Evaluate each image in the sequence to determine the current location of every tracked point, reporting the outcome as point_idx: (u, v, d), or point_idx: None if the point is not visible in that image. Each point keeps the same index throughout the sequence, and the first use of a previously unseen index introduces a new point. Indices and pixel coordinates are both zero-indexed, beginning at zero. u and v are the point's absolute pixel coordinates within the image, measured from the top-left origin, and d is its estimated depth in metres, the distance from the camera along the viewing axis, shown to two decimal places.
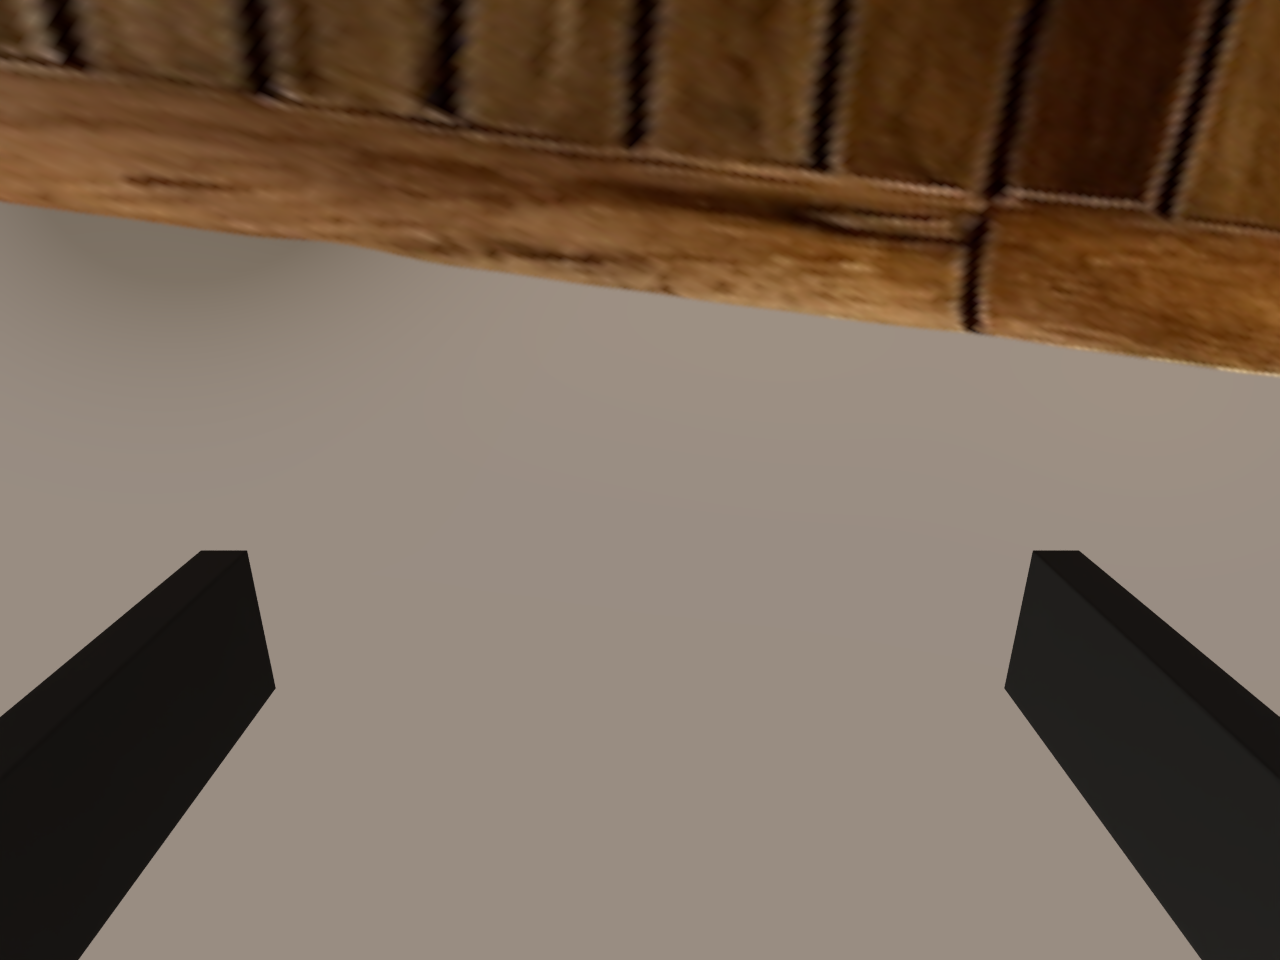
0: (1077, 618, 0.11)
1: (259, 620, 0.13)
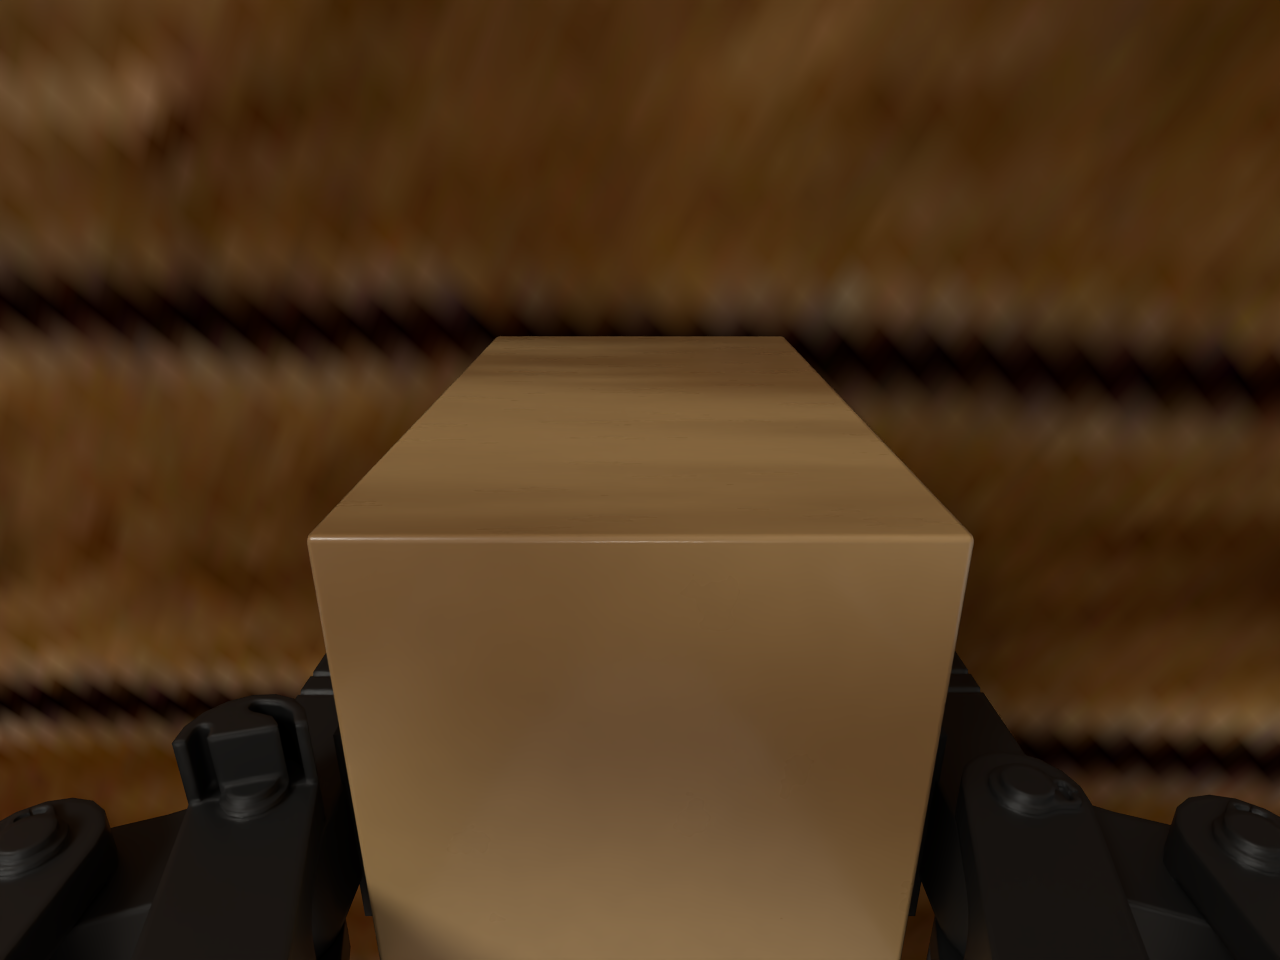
0: None
1: None
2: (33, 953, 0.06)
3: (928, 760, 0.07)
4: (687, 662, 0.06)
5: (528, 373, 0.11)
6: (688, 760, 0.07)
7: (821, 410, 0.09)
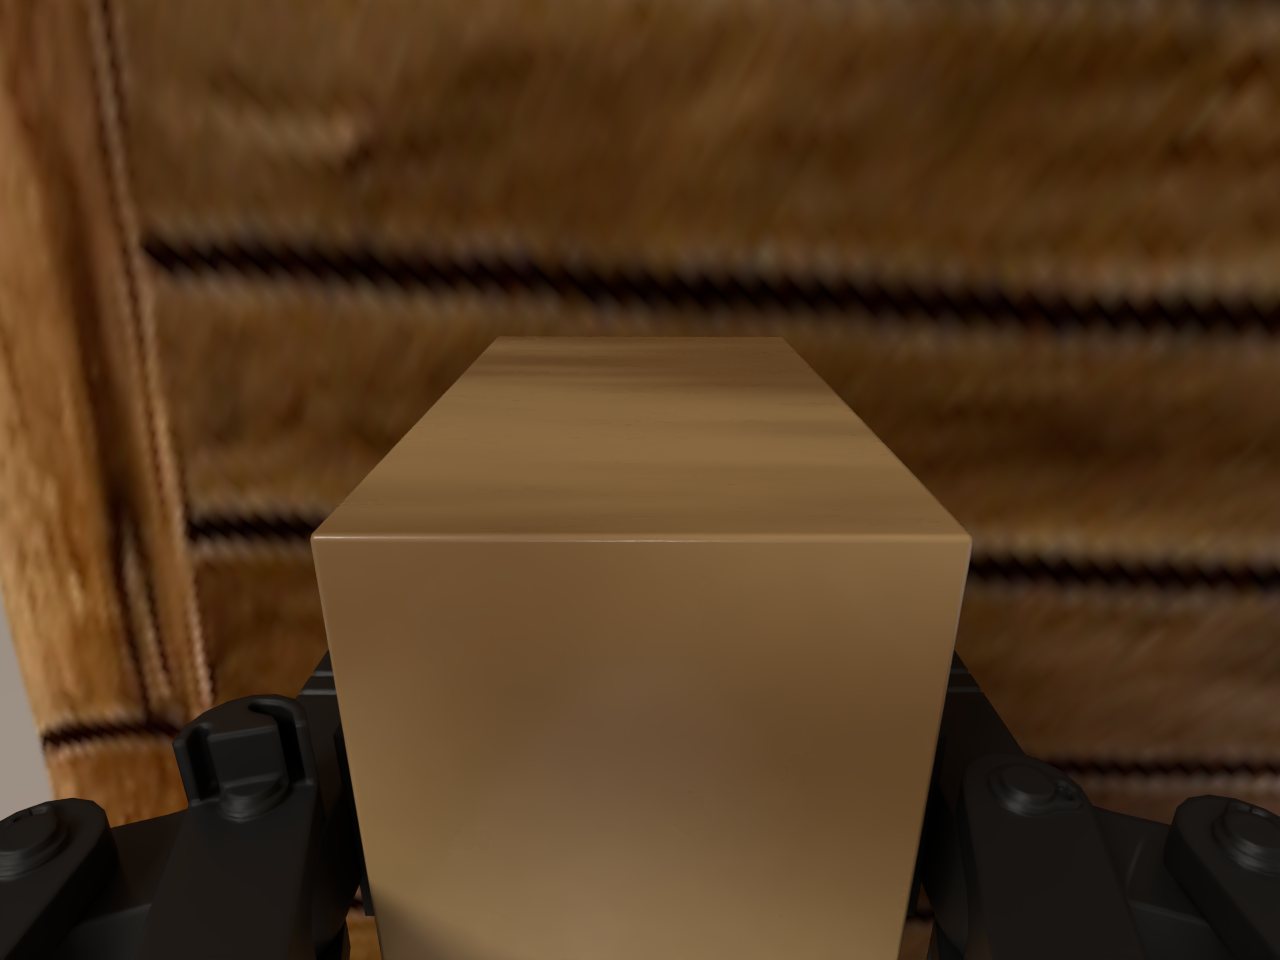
0: None
1: None
2: (33, 953, 0.06)
3: (928, 759, 0.07)
4: (689, 661, 0.06)
5: (529, 373, 0.11)
6: (689, 758, 0.07)
7: (821, 411, 0.09)
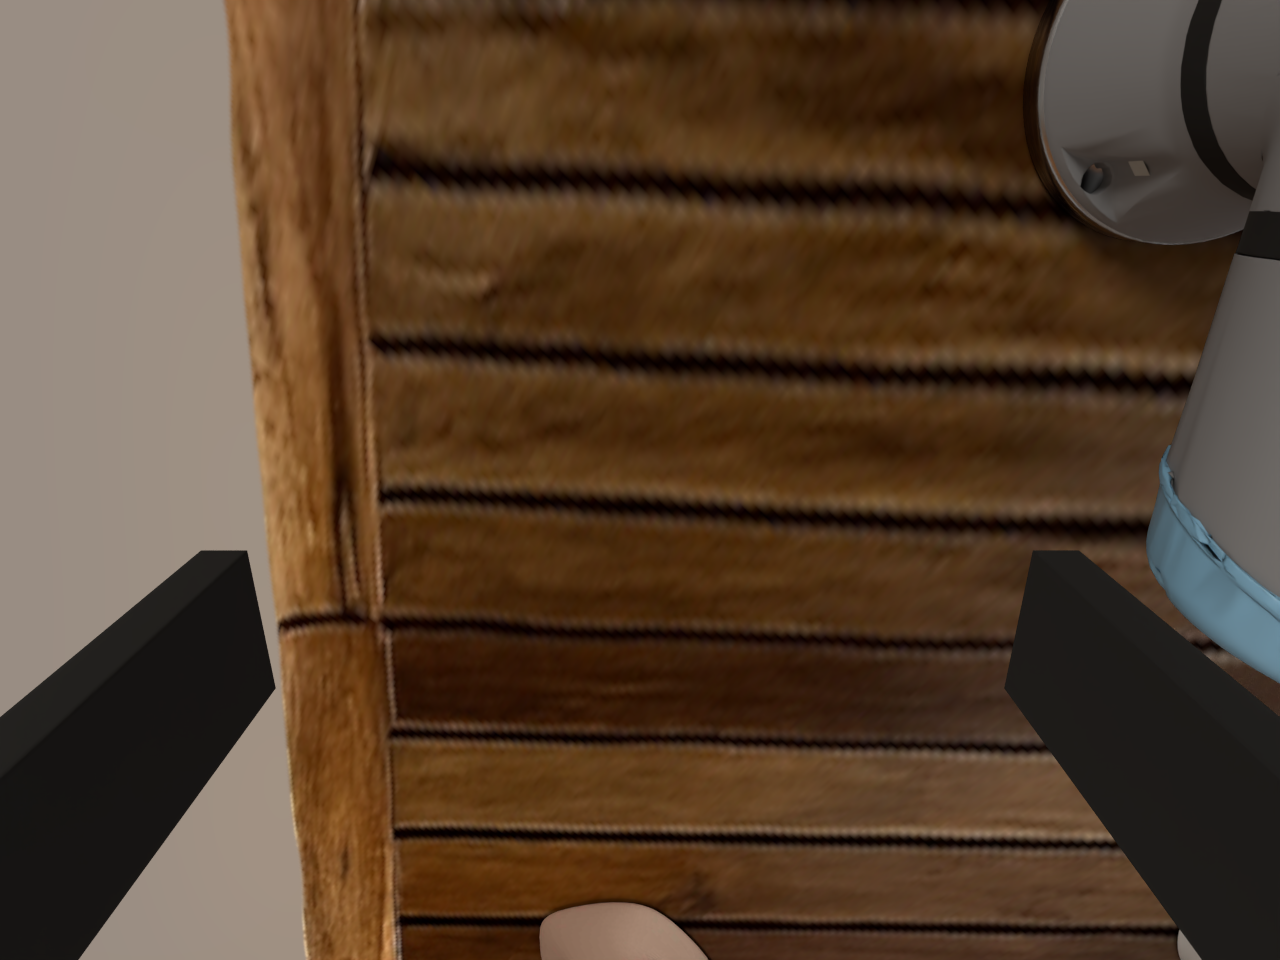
0: (1076, 618, 0.11)
1: (258, 620, 0.13)
2: None
3: None
4: None
5: None
6: None
7: None
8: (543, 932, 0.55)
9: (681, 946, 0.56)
